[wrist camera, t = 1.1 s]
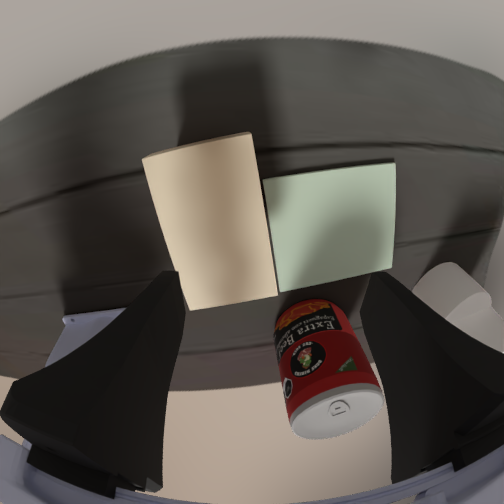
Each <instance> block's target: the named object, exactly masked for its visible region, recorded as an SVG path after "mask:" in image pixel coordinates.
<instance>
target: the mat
mask: <svg viewBox="0 0 504 504" xmlns="http://www.w3.org/2000/svg"><path fill="white" fill-rule="evenodd" d="M262 180H263V186H264V192H265V198H266V205H267V211H268V217H269V223H270V230H271V236H272V243H273V249H274V256H275V263H276V269H277V276H278V283H279V290H280V292H283V291H288V290H293V289H298V288H303V287H308V286H313V285H318V284H322V283H327V282H332V281H336V280H341V279H345V278H350V277H354V276H359V275H363V274H367V273H371V272H376V271H380V270H384V269H388V268H392V258H393V245H394V230H395V204H396V168H395V163H393V162H391V163H380V164H370V165H361V166H352V167H343V168H335V169H327V170H320V171H313V172H306V173H299V174H293V175H286V176H280V177H274V178H268V179H262Z"/></svg>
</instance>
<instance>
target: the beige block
mask: <svg viewBox="0 0 504 504" xmlns="http://www.w3.org/2000/svg"><path fill="white" fill-rule="evenodd" d="M142 162H143V166H144V169H145V173H146V177H147V180H148V184H149V188H150V191H151V195H152V198H153V202H154V205H155V209H156V212H157V215H158V218H159V222H160V225H161V228H162V231H163V234H164V238H165V241H166V244H167V247H168V250H169V253H170V256H171V259H172V262H173V265H174V268H175V270H176V271H179V277H180V283H181V287H182V290H183V293H184V296H185V298H186V301H187V304H188V306H189V309H190V311H191V310H197V309H203V308H209V307H216V306H222V305H227V304H233V303H239V302H245V301H250V300H256V299H261V298H266V297H272V296H277V295H278V293H277V286H276V280H275V273H274V267H273V260H272V254H271V247H270V241H269V235H268V229H267V222H266V216H265V210H264V204H263V198H262V192H261V186H260V180H259V174H258V169H257V163H256V157H255V151H254V146H253V140H252V134H251V133H250V132H243V133H238V134H232V135H227V136H222V137H217V138H213V139H208V140H203V141H199V142H195V143H190V144H186V145H182V146H178V147H174V148H170V149H166V150H163V151H159V152H155V153H152V154H150V155H148V156H146V157H145V158H143V159H142Z"/></svg>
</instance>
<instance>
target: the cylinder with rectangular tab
mask: <svg viewBox="0 0 504 504" xmlns="http://www.w3.org/2000/svg"><path fill="white" fill-rule="evenodd" d="M412 293H413V294H415V295H416V296H417V297H418V298H419V299H421V300H422V301H423V302H424V303H425V304H427V305H428V306H429V307H430V308H432V309H433V310H434V311H435V312H437V313H438V314H439V315H441V316H442V317H443V318H445V319H446V320H447V321H449V322H450V323H451V324H453V325H454V326H456V327H457V328H459V329H460V330H462V331H463V332H465V333H466V334H468V335H470V336H471V337H473V338H475V339H476V340H478V341H480V342H482V343H483V344H485V345H487V346H489V347H491V348H493V349H495V350H497V351H500V352H502V353H504V320H503V319H502V318H501V316H500V315H499V314H498V313H497V312H496V311H495V310H494V309H493V308H492V307H491V303H492V301H491V297H490V295H489V294H488V293H487V292H486V291H485V290H484V289H483V288H482V287H481V286H480V285H479V284H478V283H477V282H476V281H475V280H474V279H473V278H472V277H471V276H469V275H468V274H467V273H466V272H465V271H464V270H463V269H462V268H461V267H460V266H458V265H457V264H456V263H453V262H446V263H442V264H440V265H437V266H435V267H434V268H432V269H431V270H429V271H428V272H427V273H426V274H425V275H424V276H423V277H422V278H421V279H420V280H419V282H418V283H417V284H416V285H415V287H414V288H413V290H412Z"/></svg>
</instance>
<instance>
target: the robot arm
mask: <svg viewBox="0 0 504 504" xmlns="http://www.w3.org/2000/svg"><path fill="white" fill-rule="evenodd" d="M185 314H186V312H185V306H184V301H183V295H182V289H181V283H180V277H179V271H162V272H161V273H160V274H159V275H158V276H157V277H156V278H155V279H154V280H153V281H152V282H151V283H150V284H149V285H148V286H147V287H146V288H145V290H144V291H143V292H142V293H141V294H140V295H139V296H138V297H137V298H136V299H135V300H134V301H133V302H132V303H131V304H130V305H129V306H128V307H127V308H120V309H113V310H105V311H98V312H90V313H82V314H74V315H66V316H64V317H63V322H64V323H65V325H66V326H65V328H64V330H63V332H62V334H61V335H60V337H59V339H58V341H57V343H56V345H55V346H54V348H53V350H52V352H51V354H50V356H49V358H48V360H47V363H46V366H45V368H43V369H41V370H39V371H37V372H35V373H33V374H30V375H28V376H26V377H23V378H21V379H19V380H16V381H14V382H13V383H12V386H11V388H10V390H9V392H8V394H7V397H6V399H5V401H4V403H3V405H2V408H1V410H0V416H1V418H2V420H3V421H4V422H5V423H6V424H7V425H8V426H10V427H11V428H12V429H13V430H14V431H16V432H17V433H18V434H19V435H20V436H22V437H23V438H24V440H23V443H22V445H20V444H18V443H16V442H14V441H13V440H11V439H9V438H7V437H6V436H4V435H0V502H2V503H3V504H208V503H197V502H188V501H181V500H174V499H167V498H162V497H157V496H152V495H147V494H142V493H138V492H135V490H138V491H142V492H145V491H149V492H154V493H155V492H157V491H159V490H160V489H161V488H163V481H162V479H163V478H162V477H163V476H162V459H163V436H164V424H165V414H166V405H167V397H168V391H169V386H170V382H171V378H172V374H173V370H174V366H175V362H176V359H177V355H178V351H179V347H180V343H181V339H182V335H183V328H184V321H185ZM360 316H361V320H362V325H363V329H364V333H365V336H366V339H367V342H368V345H369V347H370V350H371V353H372V356H373V358H374V361H375V364H376V367H377V369H378V372H379V375H380V378H381V381H382V385H383V388H384V393H385V398H386V403H387V409H388V416H389V424H390V434H391V447H392V470H391V480H392V485H388V486H385V487H381V488H377V489H374V490H370V491H366V492H361V493H357V494H352V495H348V496H343V497H337V498H332V499H325V500H318V501H311V502H302V503H291V504H390V503H393V502H396V501H399V500H402V499H405V498H407V497H411V496H413V495H416V494H418V493H419V494H418V495H417V496H416V498H415V500H414V501H413V502H412V503H410V504H504V353H502V352H500V351H497V350H495V349H493V348H491V347H489V346H487V345H485V344H483V343H482V342H480V341H478V340H476V339H475V338H473V337H471V336H470V335H468V334H466V333H465V332H463V331H462V330H460V329H459V328H457V327H456V326H454V325H453V324H451V323H450V322H449V321H447V320H446V319H445V318H443V317H442V316H441V315H439V314H438V313H437V312H435V311H434V310H433V309H432V308H430V307H429V306H428V305H427V304H425V303H424V302H423V301H422V300H421V299H419V298H418V297H417V296H416V295H415V294H413V293H412V292H411V291H410V290H409V289H407V288H406V287H405V286H404V285H403V284H401V283H400V282H399V281H398V280H396V279H395V278H394V277H392V276H391V275H390V274H388V273H387V272H372V275H371V278H370V281H369V285H368V288H367V291H366V294H365V297H364V300H363V303H362V306H361V309H360Z"/></svg>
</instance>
